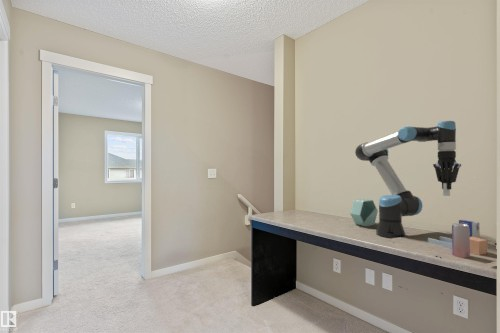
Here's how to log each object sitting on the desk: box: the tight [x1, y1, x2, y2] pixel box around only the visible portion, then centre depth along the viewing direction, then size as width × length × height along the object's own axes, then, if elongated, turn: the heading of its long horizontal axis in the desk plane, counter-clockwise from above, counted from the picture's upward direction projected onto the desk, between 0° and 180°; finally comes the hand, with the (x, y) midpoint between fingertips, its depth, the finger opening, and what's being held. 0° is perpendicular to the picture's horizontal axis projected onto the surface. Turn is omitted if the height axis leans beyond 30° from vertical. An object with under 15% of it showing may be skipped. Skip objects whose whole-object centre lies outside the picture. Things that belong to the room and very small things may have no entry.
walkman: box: [458, 219, 481, 239], centre depth 132 cm, size 8×3×12 cm, turn 25°
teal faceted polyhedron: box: [350, 198, 379, 227], centre depth 177 cm, size 17×8×21 cm
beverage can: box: [451, 222, 471, 259], centre depth 111 cm, size 6×6×15 cm
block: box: [470, 237, 489, 256], centre depth 115 cm, size 6×6×6 cm
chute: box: [427, 235, 452, 250], centre depth 125 cm, size 16×11×4 cm
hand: (446, 195), depth 132 cm, fingers closed
